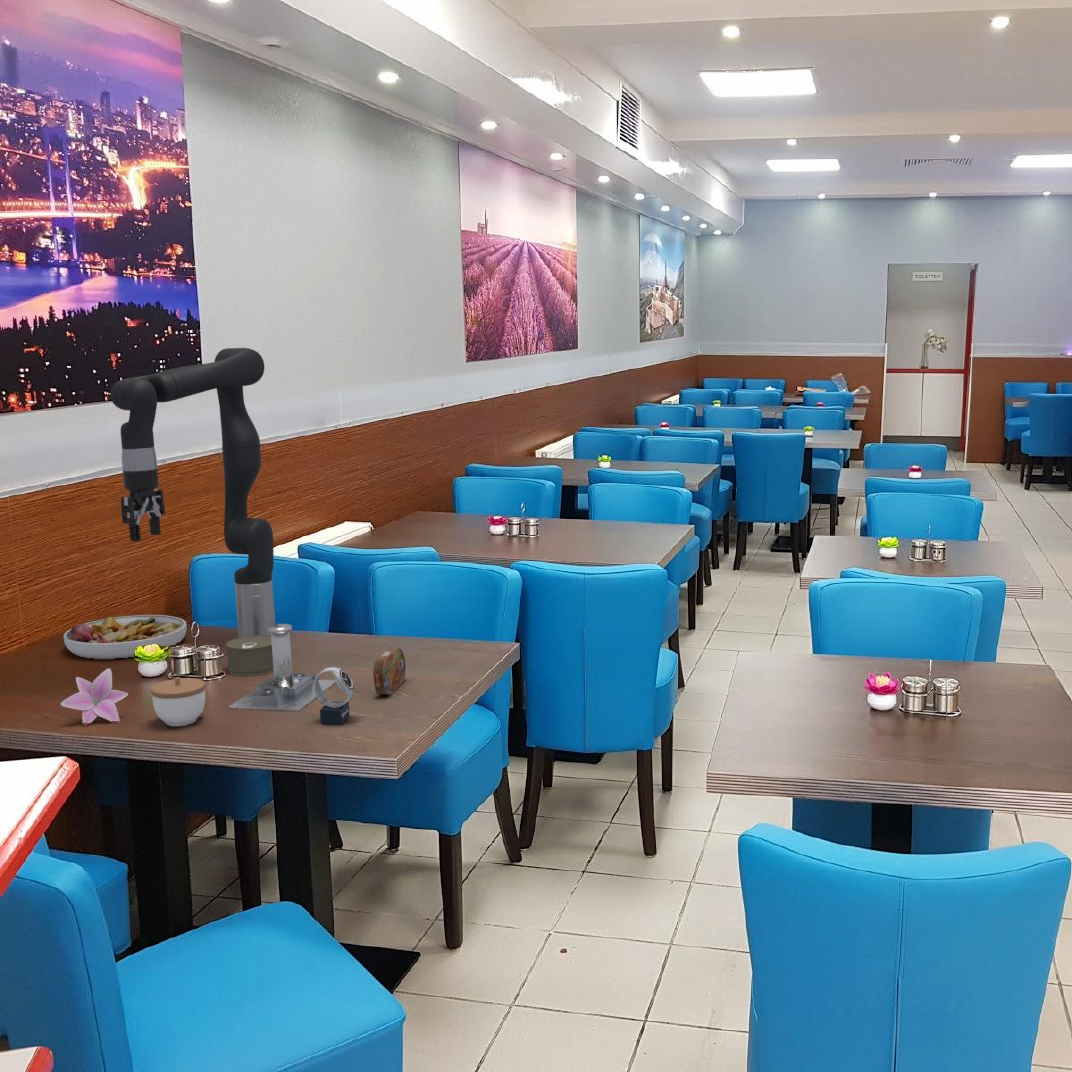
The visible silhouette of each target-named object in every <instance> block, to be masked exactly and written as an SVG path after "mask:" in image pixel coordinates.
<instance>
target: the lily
mask: <svg viewBox="0 0 1072 1072" xmlns="http://www.w3.org/2000/svg"><path fill="white" fill-rule="evenodd" d="M75 681H76V685H77V689H78V692H76V693H74V694H72V695H70V696H69V697H67V698H65V699H64V700H63V701H61V702H60V706H62V707H64V708H69V709H73V710H77V711H82V724H83V723H90V724H91V723H92V722H93V721H94V720H95V719H96V718H97V717H98V716H99V717H101V718H103V719H105V720H106V721H109V722H112V721H119V722H120V716H119V715H120V714H119V712H118V709H117V706H116V703H118V702H119V701H121V700H123V699H124V698H126V697H127V696H128V695H129V693H128V692H126V691H122V690H117V689H113V673H112V669H111V668H109V667H108V668H106V669H105V670H103V671H102V672H101V673H100V674H99V675H98V676H97V677H96V678H94V680H93V681H92V682H91V681H89V680H87V679H85V678H83V677H79V676H76V677H75Z"/></svg>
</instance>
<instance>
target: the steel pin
mask: <svg viewBox="0 0 1072 1072" xmlns="http://www.w3.org/2000/svg"><path fill="white" fill-rule="evenodd" d="M292 626H293V625H291V624H289V623H277V624H275V625H272V626H269V627H268V631H269V632H270V633H271V641H272V656H273V670H274V672H273V676H274V685H275V686H278V687H292V686H293V675H292V674H293V661H292V650H291V633H290V632H291V631H292V630H293V628H292Z"/></svg>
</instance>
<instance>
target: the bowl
mask: <svg viewBox="0 0 1072 1072" xmlns="http://www.w3.org/2000/svg"><path fill="white" fill-rule="evenodd" d="M187 628H188V626H187V621H186V620H185V619H182V618H180V617H178V616H177V617H176V616H173V615H172V616H171V615H164V614H138V615H136V614H135V615H125V616H117V617H111V616H108V617H107V618H104V619H103V618H102V619H99V620H95V621H90V622H87V623H78V624H74V625H73V626H72V627H71V628H70V629H69V630H67V631H66V632H65V633H63V642H64V645H65V647H66V648H67V650H69V651H70V653H72V654H74V655H75V656H77V657H81V658H84V657H85V659H90V658H94V659H93V660H116V659H115V658H124V659H129V658H128V657H133V658H135V657H134V654H135V650H136V648H137V647H139V646H144V645H151V644H157V645H161V646H170V645H175V644H176V643H178V642H179V643H181V642H182V640H183V639H184V638H185V637H186V636H185V635H186V633H187ZM179 643H178V644H179ZM175 646H176V645H175Z"/></svg>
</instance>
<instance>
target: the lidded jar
mask: <svg viewBox="0 0 1072 1072" xmlns="http://www.w3.org/2000/svg"><path fill="white" fill-rule="evenodd" d="M150 694H151V699H152V704H153V708H154V712H155V713H156V716H157V717H158V718H159V719H160V720H161V721H162V722H164V724H165V725H166V724H167V726H168V725H169V727H185V726H188V724H189V725H191V723H192V724H194V723H196V721H197V719H198V718H199V717H200V716H201V714H202V713H203V711H204V709H205V704H206V682H205V681H204V680H202V679H199V678H193V677H192V678H191V677H190V678H189V677H186V678H185V677H183V678H181V677H180V676H178V677H175V678H174V679H169V680H168V679H167V680H163V681H161V682H158V683H156V684H154V685H153V686H151V688H150ZM193 722H194V723H193Z"/></svg>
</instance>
